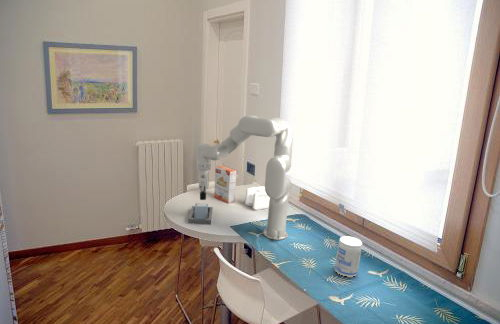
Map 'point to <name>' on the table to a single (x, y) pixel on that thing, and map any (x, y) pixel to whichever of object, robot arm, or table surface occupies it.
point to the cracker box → (225, 184)
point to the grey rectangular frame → (200, 221)
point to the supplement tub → (348, 256)
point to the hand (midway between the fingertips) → (202, 199)
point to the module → (201, 211)
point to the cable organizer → (257, 198)
